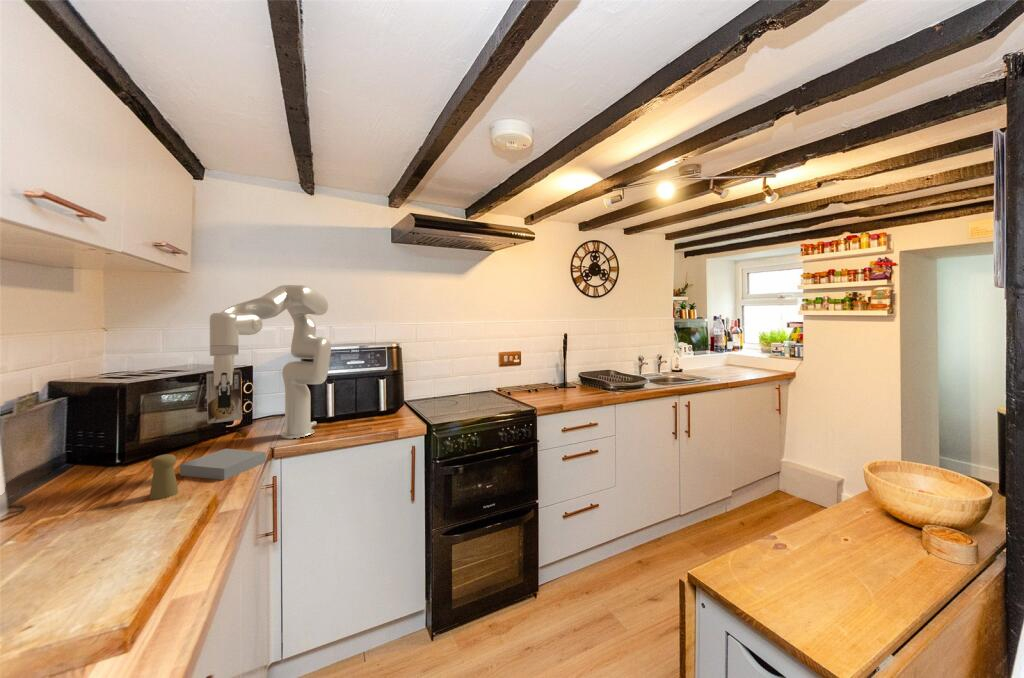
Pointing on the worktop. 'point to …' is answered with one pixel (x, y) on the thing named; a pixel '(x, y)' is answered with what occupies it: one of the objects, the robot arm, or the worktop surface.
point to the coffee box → (235, 391)
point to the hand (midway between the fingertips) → (224, 404)
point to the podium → (222, 464)
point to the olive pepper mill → (163, 477)
